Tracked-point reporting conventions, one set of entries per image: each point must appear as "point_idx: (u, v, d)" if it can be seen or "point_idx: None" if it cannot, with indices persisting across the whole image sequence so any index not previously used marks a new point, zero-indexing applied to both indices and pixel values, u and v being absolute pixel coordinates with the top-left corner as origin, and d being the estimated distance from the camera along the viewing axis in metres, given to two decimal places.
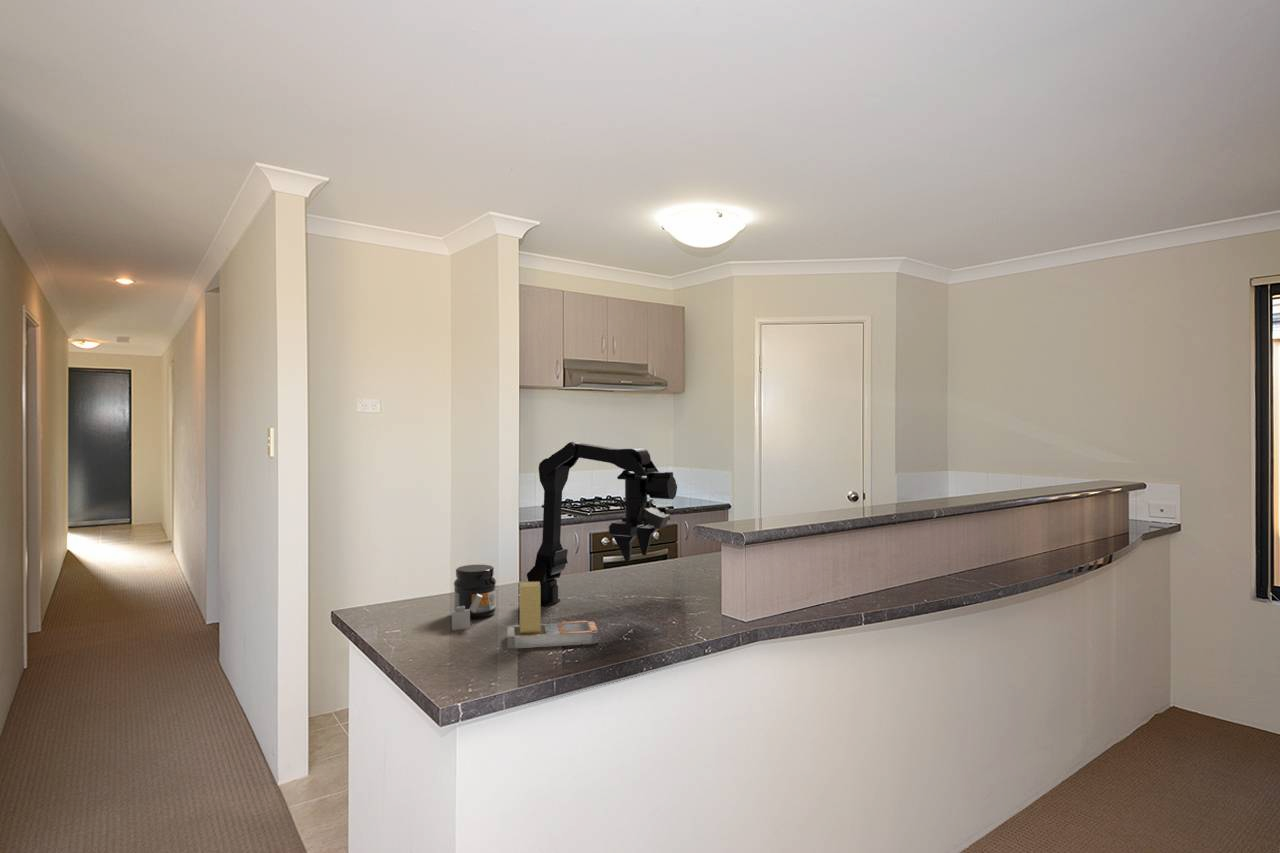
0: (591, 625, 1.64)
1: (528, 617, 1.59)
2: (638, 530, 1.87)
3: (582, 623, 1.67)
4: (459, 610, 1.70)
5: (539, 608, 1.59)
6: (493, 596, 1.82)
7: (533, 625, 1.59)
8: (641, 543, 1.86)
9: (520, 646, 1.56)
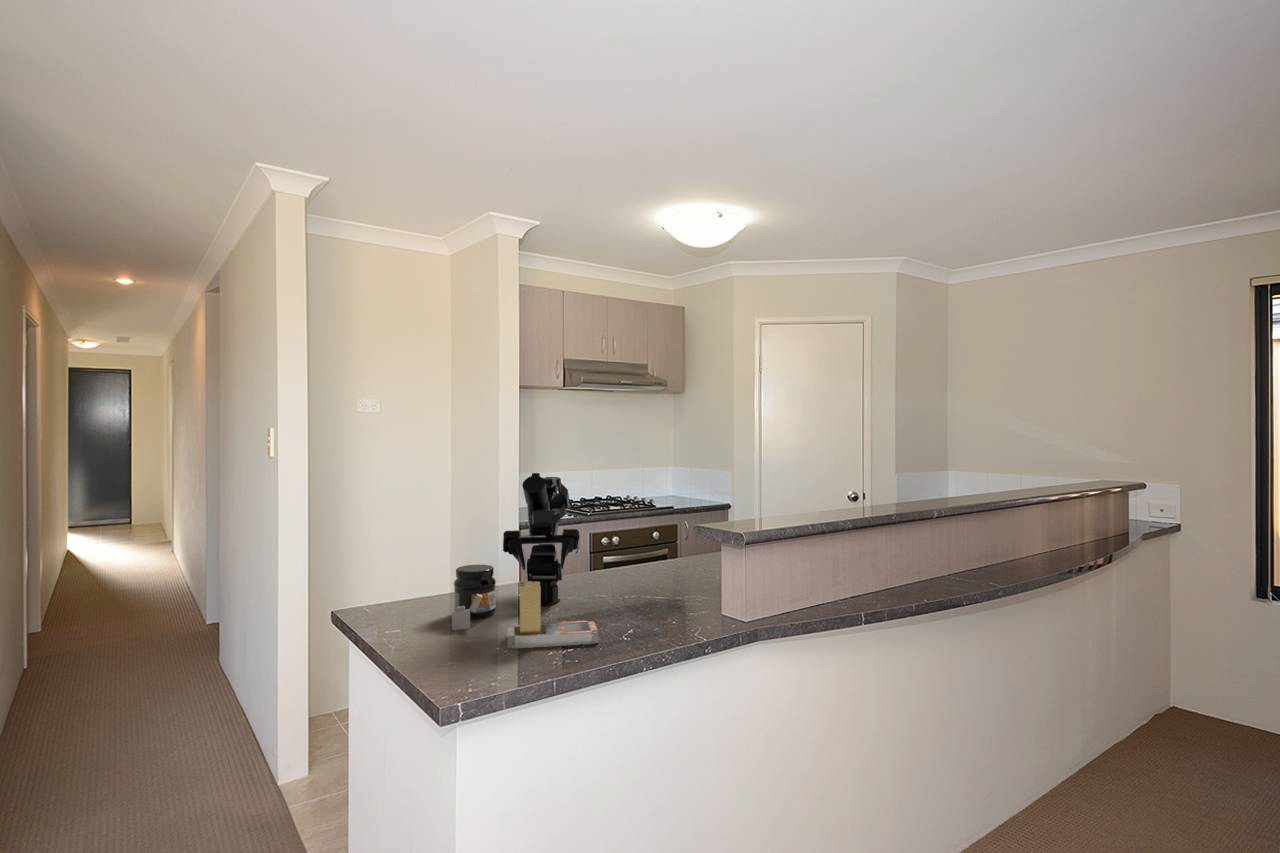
0: (591, 625, 1.64)
1: (528, 617, 1.59)
2: (561, 551, 1.80)
3: (582, 623, 1.67)
4: (459, 610, 1.70)
5: (539, 608, 1.59)
6: (493, 596, 1.82)
7: (533, 625, 1.59)
8: None
9: (520, 646, 1.56)
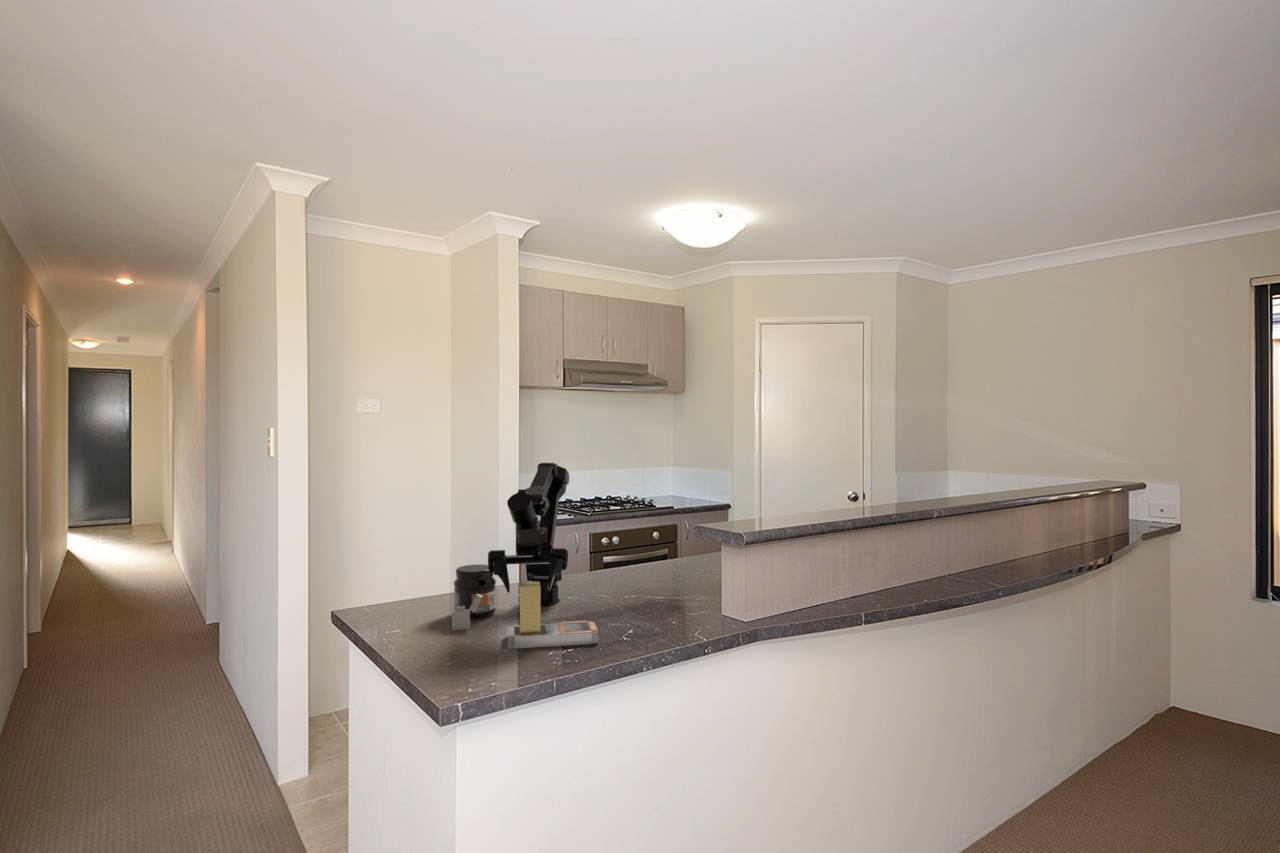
0: (591, 625, 1.64)
1: (528, 617, 1.59)
2: None
3: (582, 623, 1.67)
4: (459, 610, 1.70)
5: (539, 608, 1.59)
6: (493, 596, 1.82)
7: (533, 625, 1.59)
8: None
9: (520, 646, 1.56)
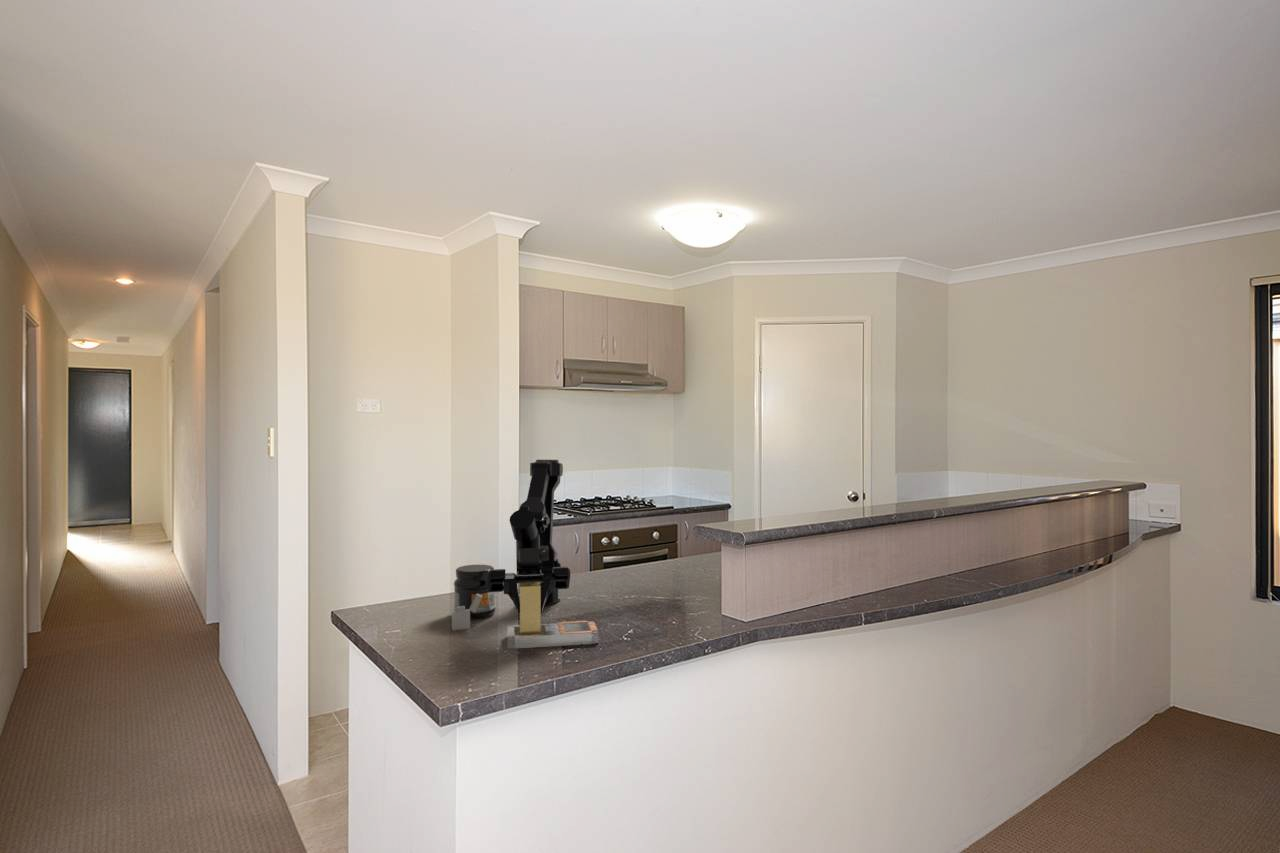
0: (591, 625, 1.64)
1: (528, 617, 1.59)
2: None
3: (582, 623, 1.67)
4: (459, 610, 1.70)
5: (539, 608, 1.59)
6: (493, 596, 1.82)
7: (533, 625, 1.59)
8: None
9: (520, 646, 1.56)
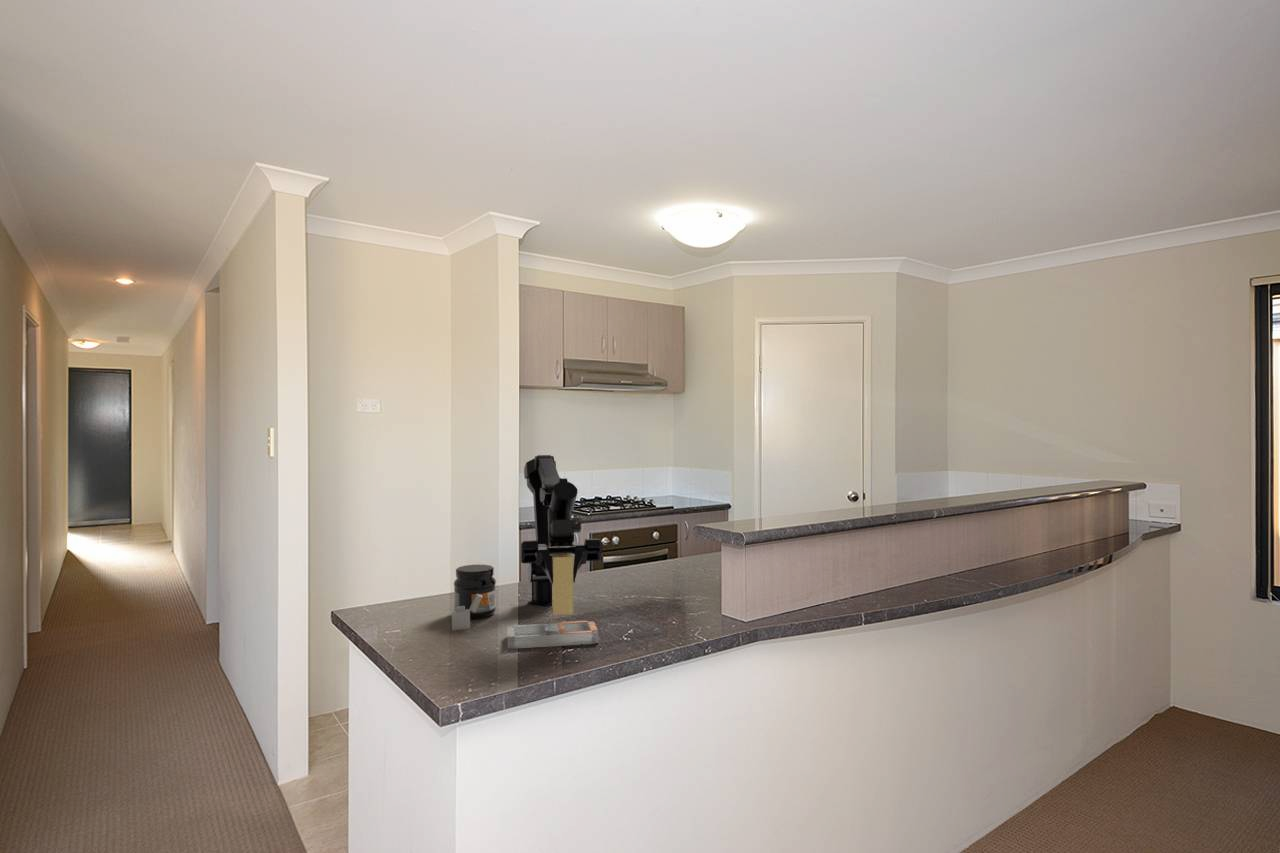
0: (591, 625, 1.64)
1: (561, 587, 1.60)
2: None
3: (582, 623, 1.67)
4: (459, 610, 1.70)
5: (572, 579, 1.60)
6: (493, 596, 1.82)
7: (565, 595, 1.60)
8: None
9: (520, 646, 1.56)
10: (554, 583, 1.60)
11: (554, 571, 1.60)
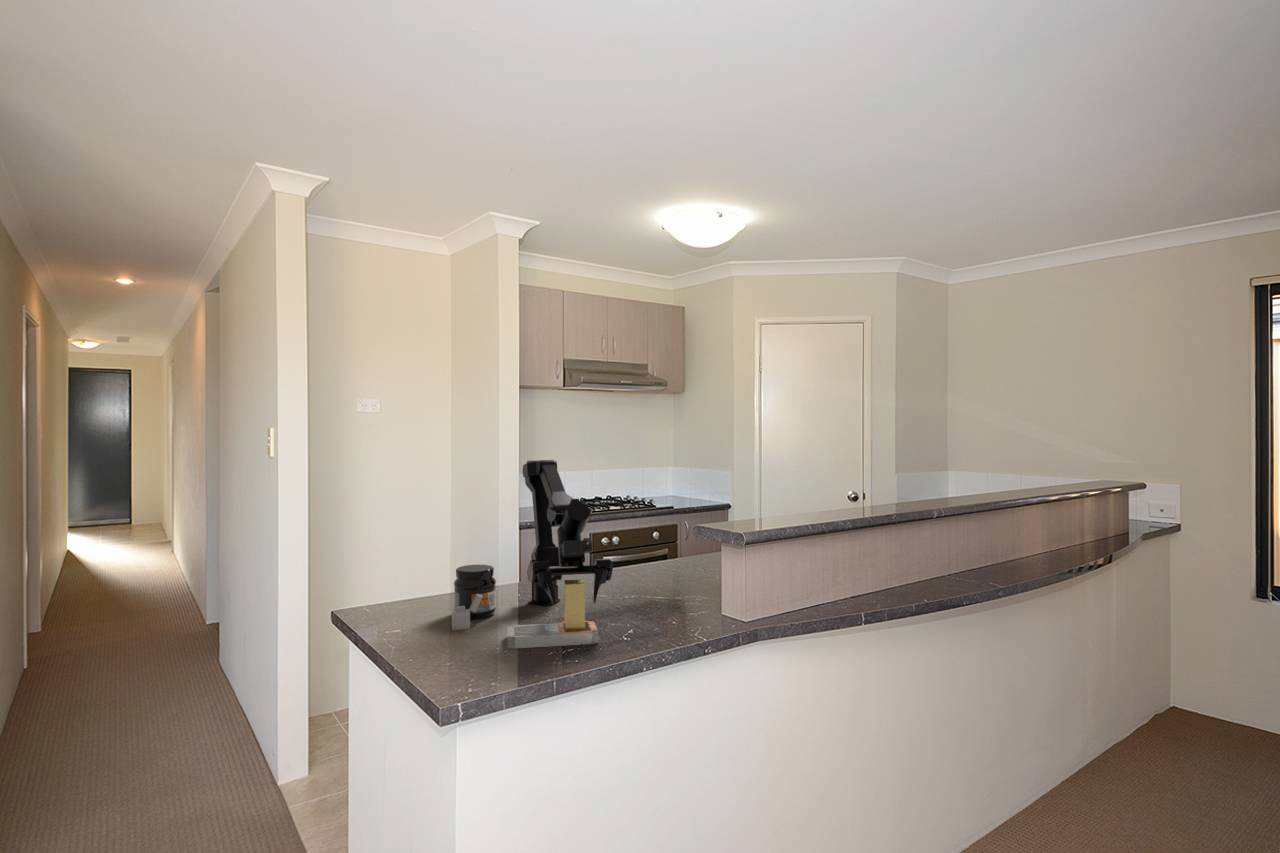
0: (591, 625, 1.64)
1: (573, 614, 1.61)
2: (593, 582, 1.68)
3: None
4: (459, 610, 1.70)
5: (584, 606, 1.61)
6: (493, 596, 1.82)
7: (577, 622, 1.61)
8: (593, 592, 1.65)
9: (520, 646, 1.56)
10: (566, 610, 1.61)
11: (566, 598, 1.61)
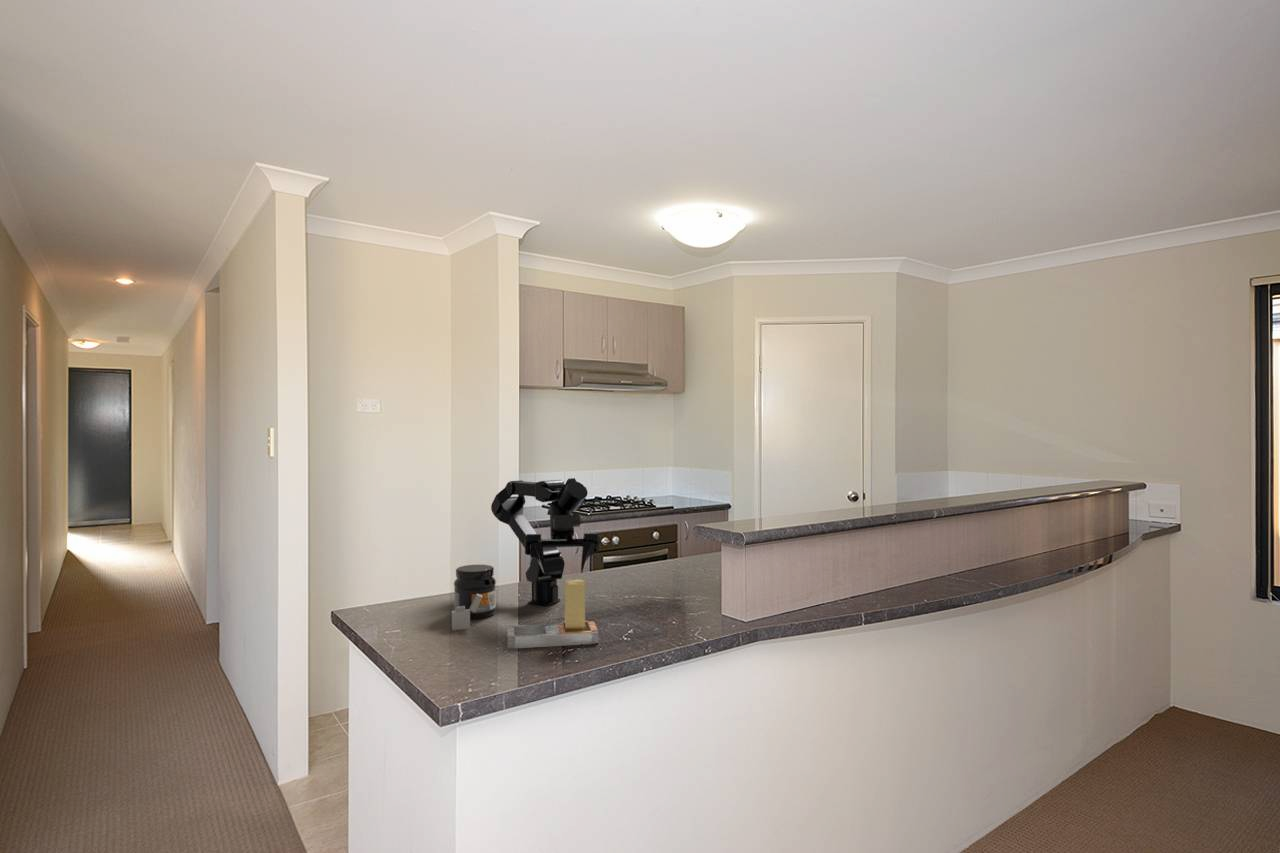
0: (591, 625, 1.64)
1: (573, 614, 1.61)
2: None
3: None
4: (459, 610, 1.70)
5: (584, 606, 1.61)
6: (493, 596, 1.82)
7: (577, 622, 1.61)
8: None
9: (520, 646, 1.56)
10: (566, 610, 1.61)
11: (566, 598, 1.61)
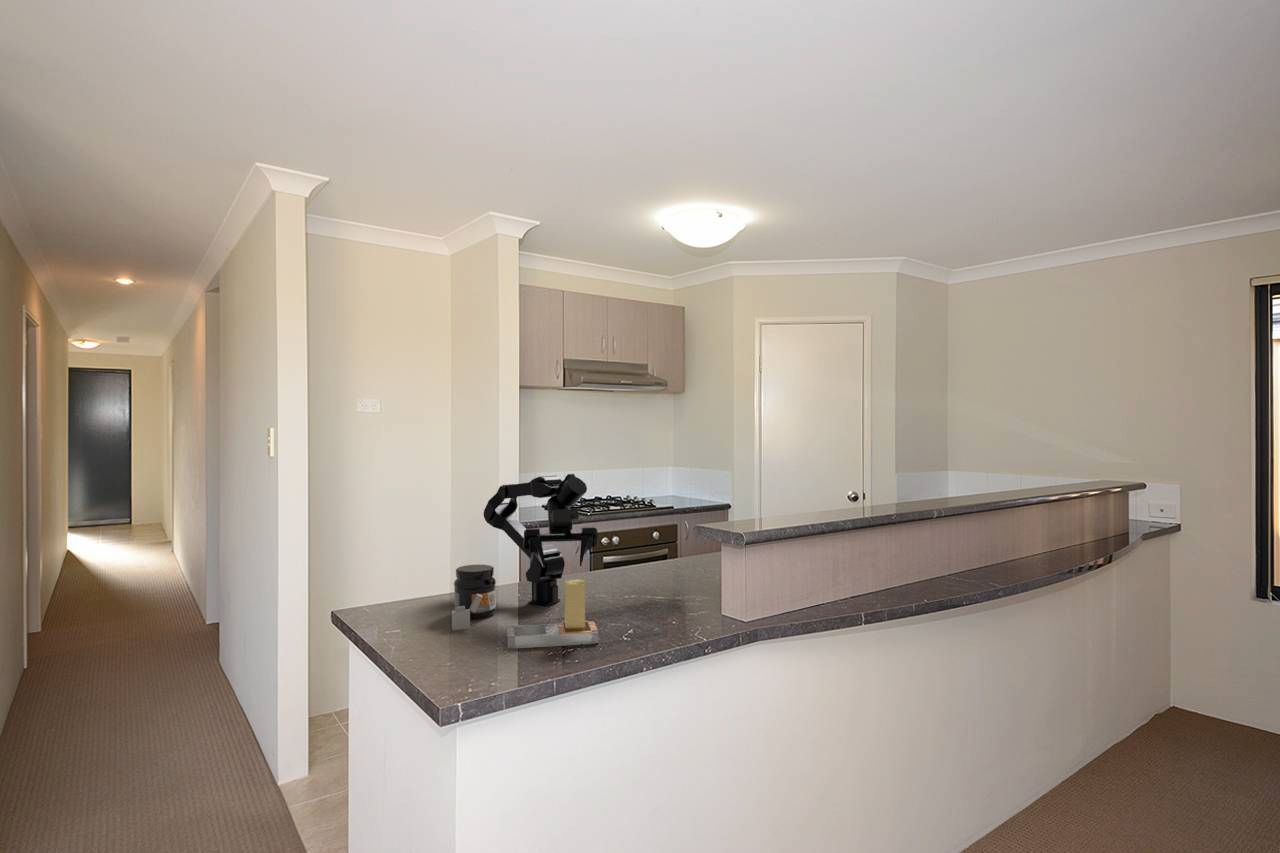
0: (591, 625, 1.64)
1: (573, 614, 1.61)
2: None
3: None
4: (459, 610, 1.70)
5: (584, 606, 1.61)
6: (493, 596, 1.82)
7: (577, 622, 1.61)
8: None
9: (520, 646, 1.56)
10: (566, 610, 1.61)
11: (566, 598, 1.61)
